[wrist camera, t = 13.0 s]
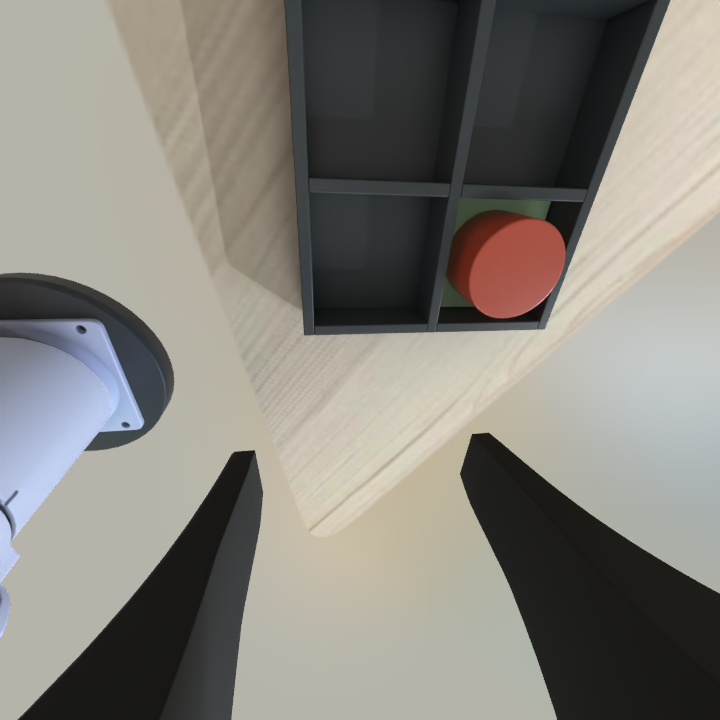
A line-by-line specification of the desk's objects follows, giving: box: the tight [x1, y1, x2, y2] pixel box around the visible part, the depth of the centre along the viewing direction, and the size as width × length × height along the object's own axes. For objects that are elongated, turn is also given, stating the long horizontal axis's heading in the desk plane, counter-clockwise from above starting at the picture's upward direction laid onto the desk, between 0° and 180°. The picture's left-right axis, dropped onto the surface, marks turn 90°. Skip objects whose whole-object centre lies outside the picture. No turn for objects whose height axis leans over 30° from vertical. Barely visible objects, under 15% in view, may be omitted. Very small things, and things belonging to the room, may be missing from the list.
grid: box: [284, 0, 670, 335], centre depth 14 cm, size 13×13×3 cm
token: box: [446, 210, 565, 318], centre depth 15 cm, size 4×4×3 cm
